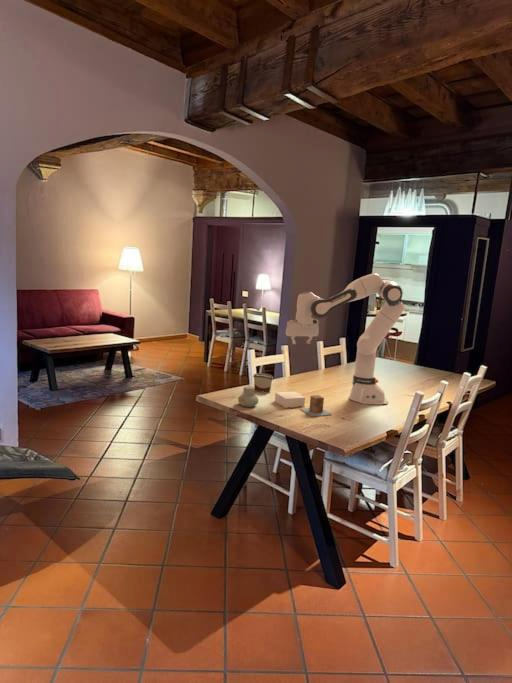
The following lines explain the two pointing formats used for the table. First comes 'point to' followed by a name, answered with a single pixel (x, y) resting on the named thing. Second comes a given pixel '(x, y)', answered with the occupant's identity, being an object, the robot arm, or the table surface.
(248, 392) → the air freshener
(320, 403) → the walnut block
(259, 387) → the food container
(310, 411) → the mat
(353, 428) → the table surface
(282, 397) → the block
